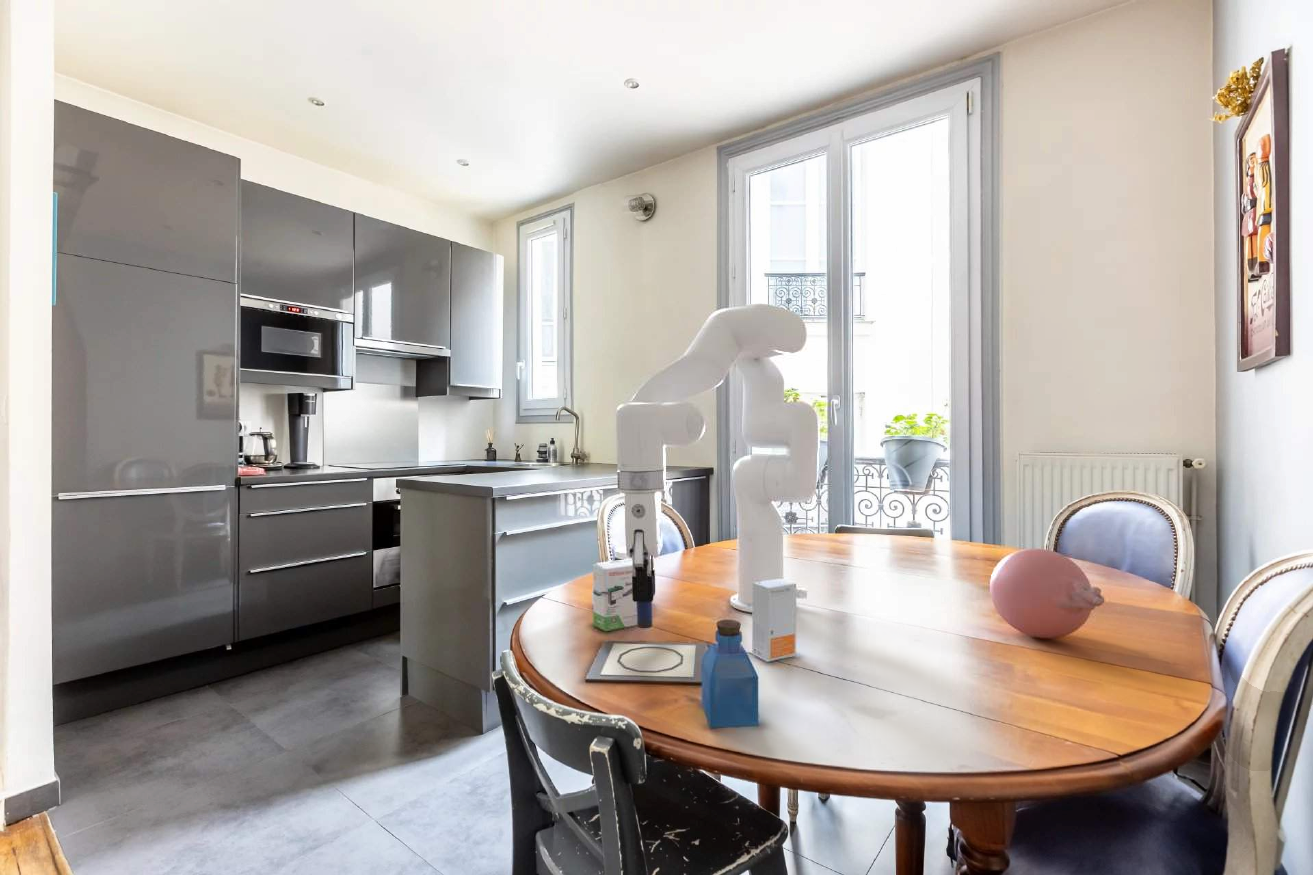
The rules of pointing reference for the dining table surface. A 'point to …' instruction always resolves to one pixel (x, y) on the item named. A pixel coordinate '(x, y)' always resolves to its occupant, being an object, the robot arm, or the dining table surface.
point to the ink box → (613, 595)
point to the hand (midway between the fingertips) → (644, 597)
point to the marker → (644, 614)
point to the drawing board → (648, 662)
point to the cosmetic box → (774, 619)
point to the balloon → (1042, 593)
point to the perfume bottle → (729, 680)
